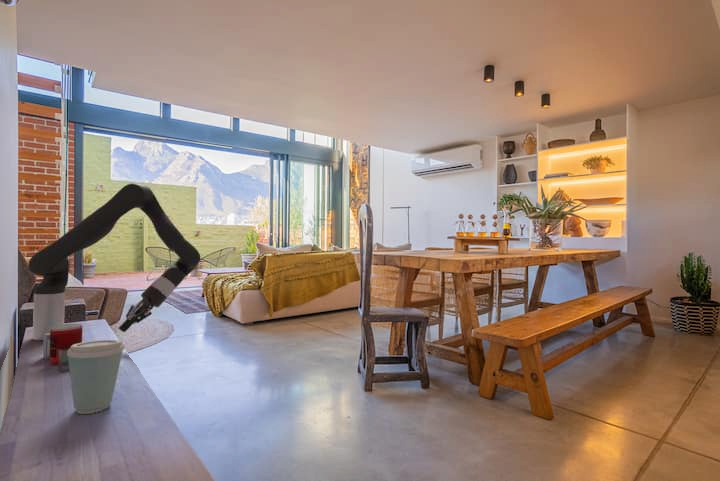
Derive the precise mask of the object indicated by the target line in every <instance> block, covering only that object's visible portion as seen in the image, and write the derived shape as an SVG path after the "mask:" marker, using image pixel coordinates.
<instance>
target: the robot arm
mask: <svg viewBox="0 0 720 481" xmlns="http://www.w3.org/2000/svg"><path fill="white" fill-rule="evenodd" d="M136 208H137V209H140V211H142V212H143V213H144V214H145V215H146V216H147V217H148V218H149V220H150V221H151V223H152V225H153V227H154V230H155V232H156V234H157V236H158V237H159V238H160V240H161V241H162V242H163V244H164V245H165V246H166V247H167V249H168V250H170V251H171V252H174V253H175V254H176V255H177V256H178V259H177V261H176V262H175V263H174V264H173V265H172V266H169V267H168V268H167V269H166V270H165V271H164V272H163V273H162V274H161V275H160V276H159V277H158V278H156V279H155V280H154V281H153V282H152V283H151V284H150V285H149V286H147V287H146V289H145V290H144V291H143V292H142V293H141V294H140V297H141V298H142V299H141V300H140V301H139V302H137V303H136V304H135V305H134V304H132V305H131V306H130V307H129V309H128V311H127V313H126V314H125V318H126V319H125V320H124V321H123V323H122V324H120V325H119V327H118V330H119V331H121V332H123V333H126V332H127V331H128V330H129V329H130V328H131V327H132V326H133V325H134V324H136V323H137V324H138V323H140V322H142V321H143V320H144V319H147V318H148V317H150V316H151V315H152V314H153V312H152V311H151V310H153V308H160V307H161V305H162V304H163V303H165V301H166V300H167V299H168V298H169V297H170V296H171V295H172V293H173V292H174V290H175V289H176V288H178V286H179V285H180V284H181V283H182V282H183V281H184V279H185V278H186V277H187V276H188V275H189V274H191V273H192V272H193V271H194V269H196V267H197V266H198V264H199V263H200V262H201V254H200V252H199V250H198V249H197V248H196V247H195V246H194V245H193V244H192V243H190V241H188V240H187V239H186V238H185V237H184V235H183V234H182V233H181V232H180V231H179V229H178V228H177V227H176V226H175V225H174V223H173V222H172V221H171V219H170V218H169V216H168V215H167V214H166V212H165V211H164V209H163V207H162V206H161V204H160V202H159V201H158V199H157V197H156V195H155V194H154V192H153V190H152V189H151V188H150V187H149V186H147V185H143V184H140V183H136V182H135V183H128V184H126V185H124V186H123V187H122V188H120V190H118V192H116V194H115V195H114V196H112V197H111V198H110V199H109V200H107V202H106V203H105V204H103V205H101V206H100V207H98V208H97V209H96V210H95V211H94V212H92V213H91V214H89V215H88V216H87V217H85V218H84V219H82V220H81V221H80V222H79V223H77V224H76V225H75V226H73V227H72V228H71V229H70V230H68V231H67V232H66V233H64V234H63V235H61V237H59V238H58V239H57V240H55V241H54V242H52V243H51V244H48V246H46V247H44V248H42V249H41V250H39V251H37V252H36V253H34V254H33V255H32V256H31V258H30V259H29V261H28V264H27V265H28V269H29V271H30V272H31V273H32V274H33V275H35V276H41V277H43V278H42V280H41V281H40V282H39V283H38V284H36V285H35V286H34V288H33V310H32V311H33V313H32V314H33V315H32V316H33V318H32V340H34V341H44V334H46V333H50V329H51V327H53V326H56V325H62V324H65V310H66V309H65V307H66V306H65V305H66V304H65V303H66V299H65V298H66V288H67V286H68V282H69V275H70V274H69V273H70V261H69V257H70V256H72V255H74V254H77V253H78V252H80V251H82V250H85V249H87V248H89V247H92V246H93V245H96V244H97V243H98V242H99V241H101V240H102V239H103V238H105V237H106V236H107V235H108V234H109V233H111V231H112V230H113V229H114V228H115V225H116V224H117V222H118V221H119V220H120V218H122V217H123V216H124V215H126V214H127V213H128V212H130V211H132V210H134V209H136Z"/></svg>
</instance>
